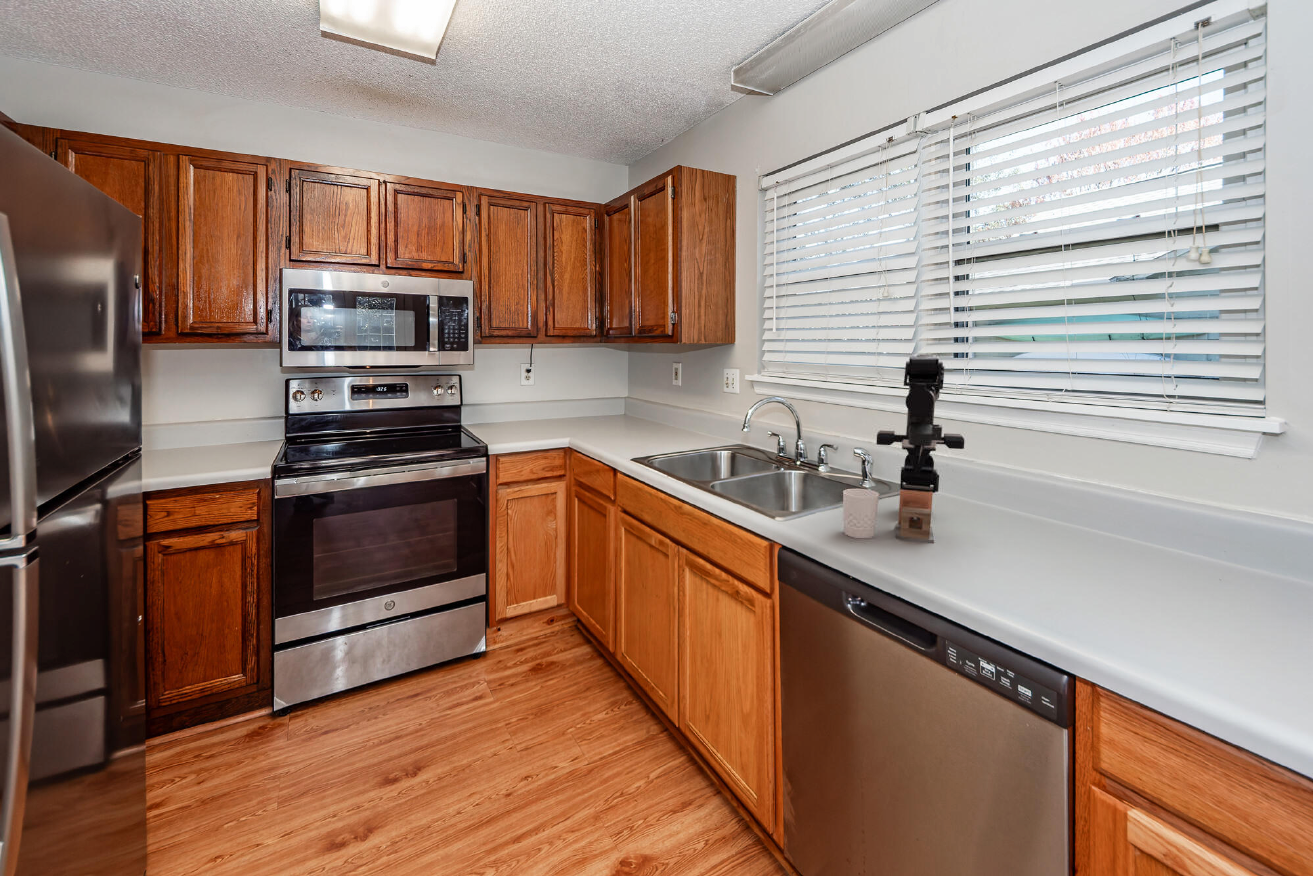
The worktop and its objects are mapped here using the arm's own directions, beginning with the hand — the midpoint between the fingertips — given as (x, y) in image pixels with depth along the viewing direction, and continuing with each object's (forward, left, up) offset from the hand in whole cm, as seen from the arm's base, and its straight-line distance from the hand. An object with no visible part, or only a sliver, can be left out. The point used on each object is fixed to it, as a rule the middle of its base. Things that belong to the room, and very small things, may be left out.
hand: (916, 475), depth 139 cm
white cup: (+10, -12, -13) cm, 20 cm away
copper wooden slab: (+4, 0, -12) cm, 13 cm away
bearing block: (+5, 0, -13) cm, 14 cm away
